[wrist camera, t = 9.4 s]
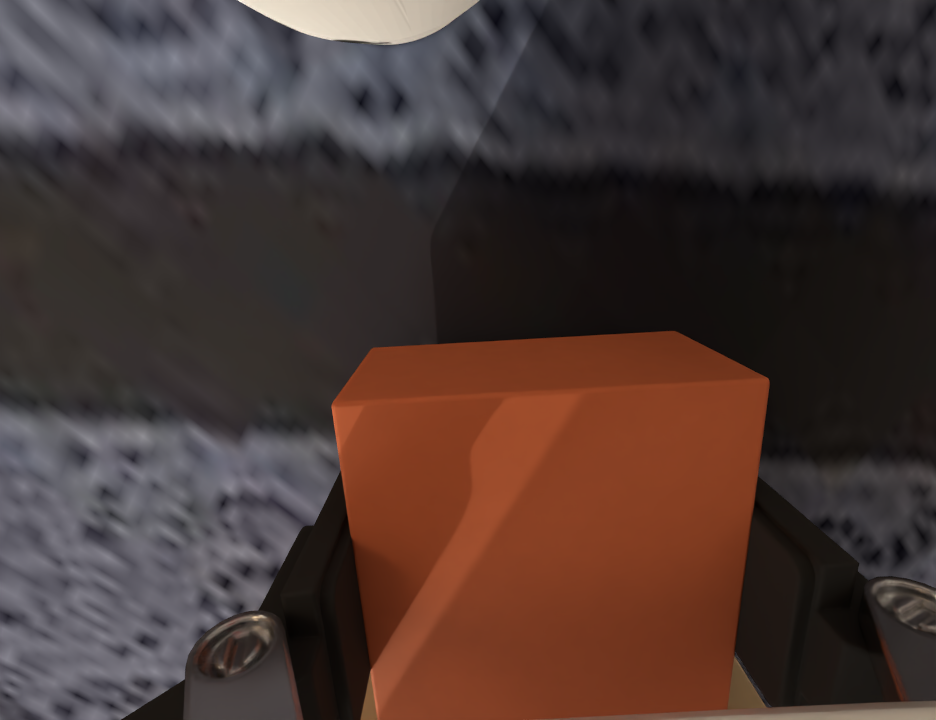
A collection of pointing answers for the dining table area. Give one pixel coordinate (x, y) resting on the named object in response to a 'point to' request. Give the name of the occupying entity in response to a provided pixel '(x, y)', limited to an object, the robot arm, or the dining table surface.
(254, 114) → the dining table surface
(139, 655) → the dining table surface
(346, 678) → the robot arm
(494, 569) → the tab pad
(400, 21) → the cup
